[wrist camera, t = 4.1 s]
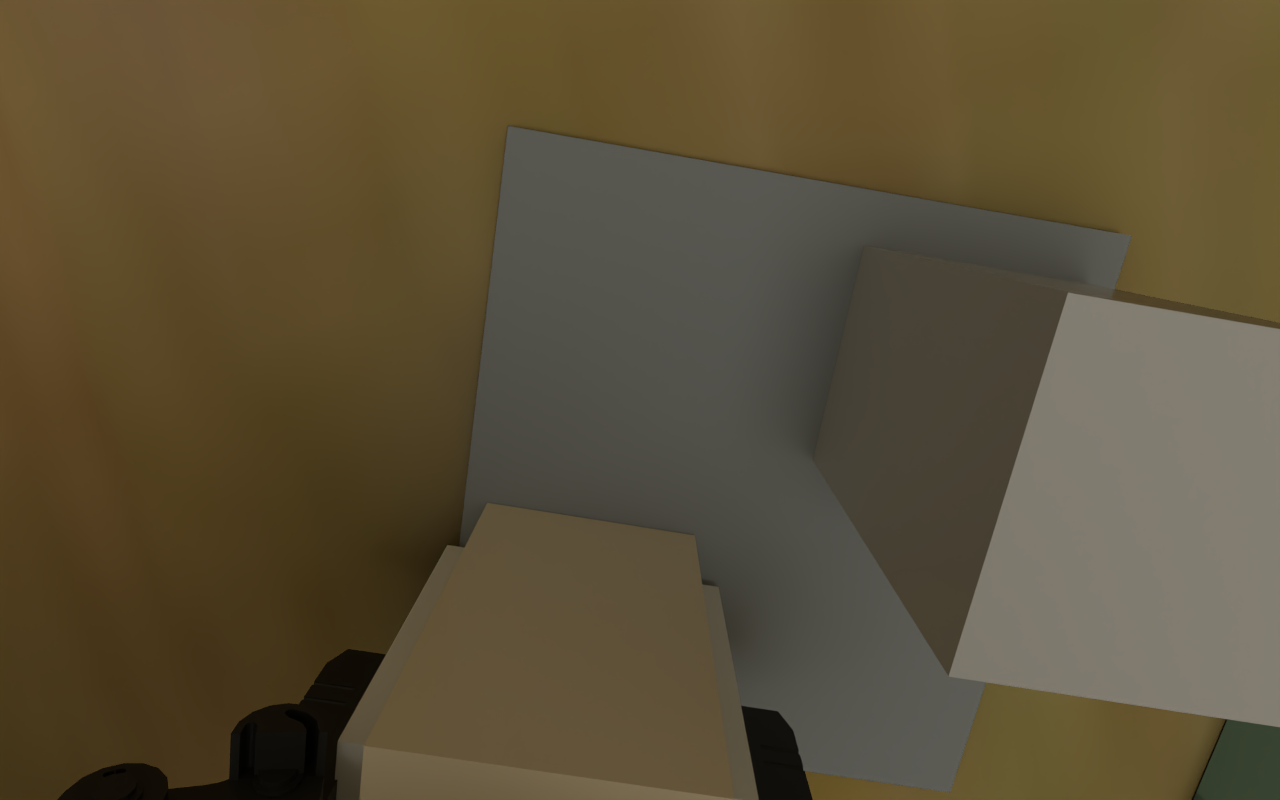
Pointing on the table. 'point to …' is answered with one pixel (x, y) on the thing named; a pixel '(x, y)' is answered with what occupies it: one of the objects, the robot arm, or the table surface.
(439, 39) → the table surface
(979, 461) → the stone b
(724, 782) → the beige rectangular block
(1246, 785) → the teal bin
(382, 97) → the table surface
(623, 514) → the slate mat
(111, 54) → the table surface
